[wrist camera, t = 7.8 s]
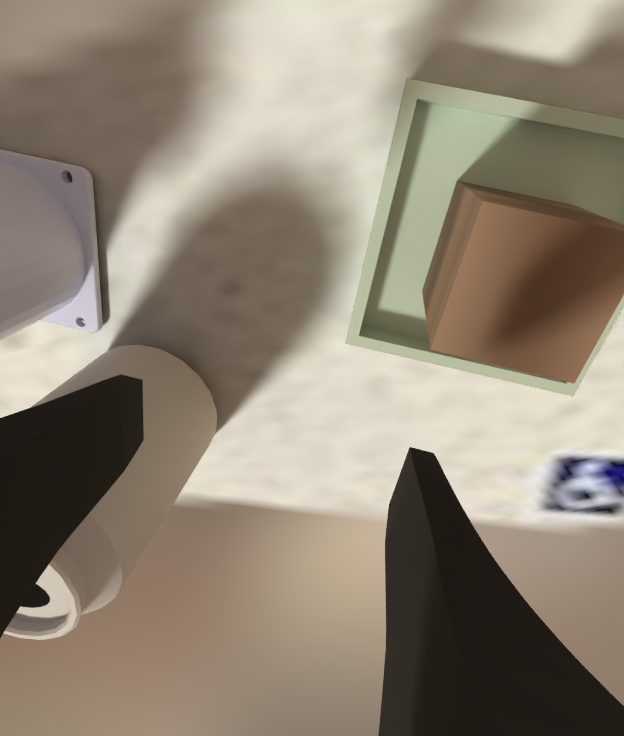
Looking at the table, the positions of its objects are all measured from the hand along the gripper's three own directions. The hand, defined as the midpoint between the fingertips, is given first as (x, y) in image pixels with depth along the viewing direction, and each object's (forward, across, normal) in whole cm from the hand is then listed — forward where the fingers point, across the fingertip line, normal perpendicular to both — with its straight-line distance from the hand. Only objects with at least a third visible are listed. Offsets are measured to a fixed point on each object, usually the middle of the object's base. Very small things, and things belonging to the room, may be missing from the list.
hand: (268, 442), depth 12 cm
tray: (+10, -6, -4) cm, 13 cm away
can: (+11, +8, +8) cm, 15 cm away
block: (+10, -6, -4) cm, 13 cm away
